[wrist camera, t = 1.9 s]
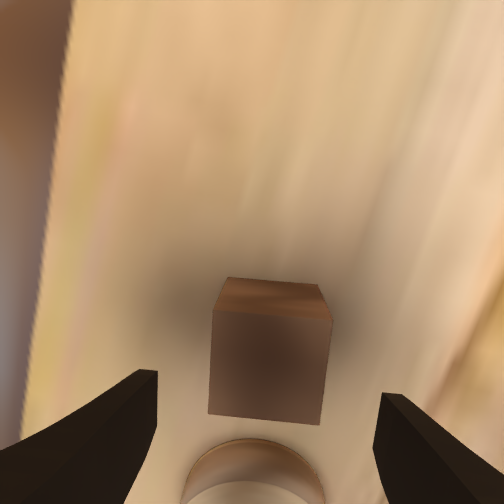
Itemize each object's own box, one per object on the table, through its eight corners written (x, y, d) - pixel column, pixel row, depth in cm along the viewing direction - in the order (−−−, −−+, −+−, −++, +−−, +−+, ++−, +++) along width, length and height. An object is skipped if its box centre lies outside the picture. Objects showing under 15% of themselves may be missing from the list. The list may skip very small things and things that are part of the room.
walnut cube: (317, 284, 17) (332, 320, 13) (307, 365, 18) (319, 425, 14) (228, 276, 17) (213, 309, 13) (223, 357, 18) (208, 413, 14)
